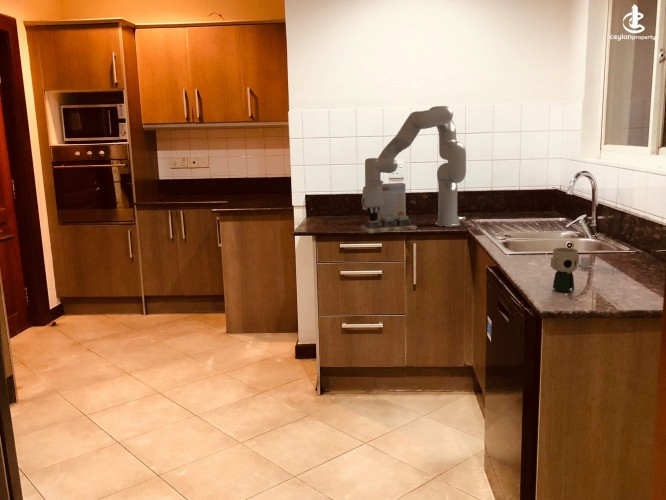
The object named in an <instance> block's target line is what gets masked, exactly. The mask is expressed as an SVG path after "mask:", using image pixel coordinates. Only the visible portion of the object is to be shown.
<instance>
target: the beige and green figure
mask: <svg viewBox="0 0 666 500" xmlns="http://www.w3.org/2000/svg"><path fill="white" fill-rule="evenodd" d="M579 258H580V255H579V251H578V249H576V248H572V247H556V248H553V250H552V257H550V268H552V270H554V271H556V272H555V274H554V278H553V284H552V289H553V290H556V291H559V292H564V293H565V292H570V290H571V291H575V281H574V278H575V277H574V273H573V272H575V271H576V270H577V269H578V267H577V265H578V262H579V261H580V259H579Z"/></svg>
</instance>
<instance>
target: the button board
mask: <svg viewBox="0 0 666 500" xmlns="http://www.w3.org/2000/svg"><path fill="white" fill-rule="evenodd" d="M376 220H377V221H378V219H376ZM368 221H369V220H364V225H363V226H359V230H360V231H362V232H364V233H367V234H375V233H386V232H387V233H388V232H397V231H408V229H411V230H417V229H418V225H415V224H412V218H411V219H410V218H409V220H398V219H394V221H383V220H380V221H379V222H373V223H370V222H368ZM416 228H417V229H416Z"/></svg>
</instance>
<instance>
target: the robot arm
mask: <svg viewBox="0 0 666 500" xmlns="http://www.w3.org/2000/svg"><path fill="white" fill-rule="evenodd" d="M453 117H454V112H453V110H452V109H451V107H449V106H447V105H439V106H436V105H435V106H433V107H430V108H429V109H428V110H416V111H413V112H411V113H410V114H409V115H408V116H407V118H406V120H405V121H404V123H403V124H402V125H401V127H400V129H399V130H398V132H397V134H396V135H395V136H394V137H393V138H392V139H391V141H389V142H388V143H387V145H386V146H384V148H383V149H382V151H381V153H380V154H379V156H378V157H370V158H369V157H368V158H366V159H365V160H364V186H363V188H362V192H361V193H362V197H361V206H362V210H365V211H367V212H368V213H369V220H370V221H376V220H377V214H378V210H379V209H382V208H383V204H384V199H383V190H382V186H381V184H384V181H383V180H381V176H382V175H381V173H387V174H392V173H394V172H396V171H397V170H398V166H399V165H398V162H397V160H396V158H397V156H398V155H399V154H400V153H402V151H405V150H406V149H409V147H410V146H412V144H413V143H414V140H415V139H416V138H417V136H418V134H419V133H420V132H421V130H426V129H433V128H436V129H437V131H438V154H439V157H440V158H441V159H442V160H445V161H447V162H444V163H442V164H440V165H439V166H438V168H437V170H436V177H437V178H436V179H437V185H438V191H437V192H438V193H437V195H438V196H437V197H438V200H437V202H438V203H437V204H438V205H437V207H438V209H437V212H438V213H437V215H438V216H437V221H435V222H434V225H435V226H436V225H437V227H442V226H445V227H444V228H448V227H449V228H451V227H453V226H454V227H458V226H460V225H461V221H463V222H464V221H466V219H467V217H466V216H459V215H458V191H459V190H458V185H457V184H459V183H462V182H463V181H464V180H465V178H466V174H467V151H466V148H465V145H464V144H463V143H462V142H460V141H457V129H456V124H455V123H454V121H453Z"/></svg>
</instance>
